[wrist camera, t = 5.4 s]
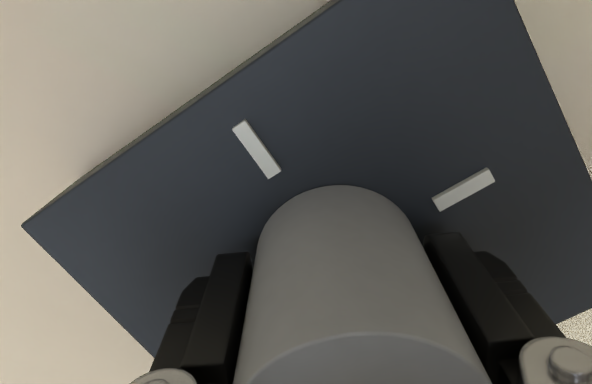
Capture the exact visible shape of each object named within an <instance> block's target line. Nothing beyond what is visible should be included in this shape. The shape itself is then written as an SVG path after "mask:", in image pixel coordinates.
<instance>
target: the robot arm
mask: <svg viewBox="0 0 592 384" xmlns="http://www.w3.org/2000/svg"><path fill="white" fill-rule="evenodd" d="M424 250H425V252H426V254H427V256H428V258H429V260H430V262H431V264H432V266H433V268H434V270H435V272H436V274H437V276H438V278H439V280H440V282H441V284H442V286H443V288H444V290H445V292H446V294H447V296H448V298H449V300H450V302H451V304H452V305H453V307H454V309H455V311H456V313H457V315H458V317H459V319H460V321H461V323H462V325H463V327H464V329H465V331H466V333H467V335H468V337H469V339H470V341H471V343H472V345H473V347H474V349H475V351H476V353H477V355H478V357H479V359H480V361H481V363H482V365H483V367H484V369H485V371H486V373H487V375H488V377H489V378H490V380H491V382H492V384H592V346H590V345H588V344H586V343H583V342H580V341H577V340H574V339H569V338H566V337H565V336H564V334H563V333H562V332H561V331H560V329H559V328H558V327H557V326H556V325H555V323H554V322H553V321H552V320H551V318H550V317H549V316H548V315H547V313H546V312H545V311H544V310H543V308H542V307H541V306H540V305H539V303H538V302H537V301H536V300H535V299H534V297H533V296H532V295H531V294H530V293H528V292H527V289H526V287H525V286H524V285H523V284H522V282H521V281H520V280H518V279H517V276H516V275H515V274H514V273H513V271H512V270H511V269H510V268H509V266H508V265H507V264H506V263H505V262H504V261H502V260H500V259H499V258H497V257H495V256H494V255H492V254H490V253H489V252H487V251H478V252H474V251H473V250H472V249H471V247H470V246H469V244H468V243H467V242H466V240H465V239H464V237H463V236H462V235H461V233H459V232H450V233H439V234H429V235H425V237H424ZM252 273H253V266H252V261H251V256H250V253H249V252H248V251H247V252H236V253H226V254H218V255H217V256H216V258H215V261H214V264H213V267H212V270H211V274H210V276H205V277H196V278H195V279H194V280H193V281H192V282H191V283H190V284H189V285H188V286H187V287H186V288H185V289H184V290H183V291H182V293H181V295H180V297H179V300H178V302H177V305H176V310H174V312H173V315H172V317H171V320H170V324H168V327H167V329H166V332H165V334H164V337H163V339H162V342H161V344H160V347H159V349H158V351H157V354H156V356H155V359H154V361H153V364H152V366H151V369H150V371H149V373H146V374H144V375H142V376H140V377H139V378H137V379H135V380H134V381H132V382H131V383H130V384H233V380H234V374H235V369H236V363H237V357H238V352H239V346H240V340H241V335H242V329H243V324H244V318H245V312H246V307H247V301H248V296H249V290H250V284H251V279H252Z"/></svg>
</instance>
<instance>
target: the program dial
mask: <svg viewBox="0 0 592 384" xmlns="http://www.w3.org/2000/svg"><path fill="white" fill-rule="evenodd" d="M233 384H492V382H491V380H490V378H489V377H488V375H487V373H486V371H485V369H484V367H483V365H482V363H481V361H480V359H479V357H478V355H477V353H476V351H475V349H474V347H473V345H472V343H471V341H470V339H469V337H468V335H467V333H466V331H465V329H464V327H463V325H462V323H461V321H460V319H459V317H458V315H457V313H456V311H455V309H454V307H453V305H452V304H451V302H450V300H449V298H448V296H447V294H446V292H445V290H444V288H443V286H442V284H441V282H440V280H439V278H438V276H437V274H436V272H435V270H434V268H433V266H432V264H431V262H430V260H429V258H428V256H427V254H426V252H425V250H424V248H423V246H422V244H421V242H420V240H419V238H418V236H417V234H416V232H415V231H414V229H413V227H412V225H411V223H410V221H409V220H408V218H407V217H406V215H405V214H404V213H403V212H402V211H401V210H400V208H399V207H398V206H396V205H395V204H394V203H393V202H392V201H390V200H389V199H387V198H385V197H384V196H382V195H380V194H378V193H376V192H374V191H371V190H368V189H365V188H361V187H356V186H349V185H332V186H324V187H319V188H315V189H312V190H309V191H306V192H303V193H301V194H299V195H297V196H295V197H293V198H292V199H290V200H289V201H287V202H286V203H284V204H283V205H282V206H281V207H280V208H278V209H277V210H276V212H275V213H274V214H273V215H272V216H271V217H270V219H269V220H268V221H267V223H266V224H265V226H264V228H263V230H262V232H261V235H260V238H259V241H258V245H257V251H256V256H255V262H254V267H253V273H252V279H251V284H250V290H249V296H248V301H247V307H246V312H245V318H244V324H243V329H242V335H241V340H240V346H239V352H238V357H237V363H236V369H235V374H234V380H233Z"/></svg>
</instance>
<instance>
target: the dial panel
mask: <svg viewBox="0 0 592 384" xmlns="http://www.w3.org/2000/svg"><path fill="white" fill-rule="evenodd" d="M332 185H349V186H356V187H361V188H365V189H368V190H371V191H374V192H376V193H378V194H380V195H382V196H384V197H385V198H387V199H389V200H390V201H392V202H393V203H394V204H395V205H396V206H398V207H399V208H400V210H401V211H402V212H403V213H404V214H405V215H406V217H407V218H408V220H409V221H410V223H411V225H412V227H413V229H414V231H415V232H416V234H417V236H418V238H419V240H420V242H421V244H422V246H423V248H424V237H425V235H429V234H439V233H450V232H459V233H461V235H462V236H463V237H464V239H465V240H466V242H467V243H468V244H469V246H470V247H471V249H472V250H473V251H474V252H478V251H487V252H489V253H490V254H492V255H494V256H495V257H497V258H499V259H500V260H502V261H504V262H505V263H506V264H507V265H508V266H509V268H510V269H511V270H512V271H513V273H514V274H515V275H516V276H517V279H518V280H520V281H521V282H522V284H523V285H524V286H525V287H526V289H527V292H528V293H530V294H531V295H532V296H533V297H534V299H535V300H536V301H537V302H538V303H539V305H540V306H541V307H542V308H543V310H544V311H545V312H546V313H547V315H548V316H549V317H550V318H551V320H552V321H553V322H554V323H555V324H558V323H560V322H562V321H564V320H566V319H569V318H571V317H573V316H575V315H577V314H580V313H582V312H584V311H586V310H588V309H591V308H592V180H591V178H590V175H589V173H588V171H587V168H586V166H585V164H584V162H583V159H582V157H581V155H580V152H579V150H578V148H577V145H576V143H575V141H574V138H573V136H572V134H571V131H570V129H569V127H568V125H567V122H566V120H565V118H564V115H563V113H562V111H561V108H560V106H559V104H558V101H557V99H556V97H555V94H554V92H553V90H552V88H551V85H550V83H549V81H548V78H547V76H546V74H545V71H544V69H543V67H542V64H541V62H540V60H539V57H538V55H537V53H536V51H535V48H534V46H533V44H532V41H531V39H530V37H529V34H528V32H527V30H526V27H525V25H524V23H523V21H522V18H521V16H520V14H519V11H518V9H517V7H516V4H515V2H514V0H331V1H330V2H328V3H327V4H325V5H324V6H323V7H321V8H320V9H318V10H317V11H316V12H314V13H313V14H311V15H310V16H308V17H307V18H306V19H304V20H303V21H301V22H300V23H299V24H297V25H296V26H294V27H293V28H292V29H290V30H289V31H287V32H286V33H284V34H283V35H282V36H280V37H279V38H277V39H276V40H275V41H273V42H272V43H270V44H269V45H268V46H266V47H265V48H263V49H262V50H260V51H259V52H258V53H256V54H255V55H253V56H252V57H251V58H249V59H248V60H246V61H245V62H244V63H242V64H241V65H239V66H238V67H236V68H235V69H234V70H232V71H231V72H229V73H228V74H227V75H225V76H224V77H222V78H221V79H220V80H218V81H217V82H215V83H214V84H212V85H211V86H210V87H208V88H207V89H205V90H204V91H203V92H201V93H200V94H198V95H197V96H196V97H194V98H193V99H191V100H190V101H188V102H187V103H186V104H184V105H183V106H181V107H180V108H179V109H177V110H176V111H174V112H173V113H172V114H170V115H169V116H167V117H166V118H164V119H163V120H162V121H160V122H159V123H157V124H156V125H155V126H153V127H152V128H150V129H149V130H148V131H146V132H145V133H143V134H142V135H140V136H139V137H138V138H136V139H135V140H133V141H132V142H131V143H129V144H128V145H126V146H125V147H124V148H122V149H121V150H119V151H118V152H116V153H115V154H114V155H112V156H111V157H109V158H108V159H107V160H105V161H104V162H102V163H101V164H100V165H98V166H97V167H95V168H94V169H92V170H91V171H90V172H88V173H87V174H85V175H84V176H83V177H81V178H80V179H78V180H77V181H76V182H74V183H73V184H72V185H71V186H69V187H68V188H67V189H66V190H64V191H63V192H62V193H60V194H59V195H58V196H57V197H55V198H54V199H53V200H52V201H50V202H49V203H48V204H46V205H45V206H44V207H43V208H41V209H40V210H39V211H38V212H36V213H35V214H34V215H32V216H31V217H30V218H29V219H27V220H26V221H25V222H24V223H22V225H21V227H22V228H23V229H24V230H25V231H26V232H27V233H28V234H29V235H30V236H31V237H32V238H33V239H34V240H35V241H36V242H37V243H38V244H39V245H40V246H41V247H42V248H43V249H44V250H45V251H46V252H47V253H48V254H49V255H50V256H51V257H52V258H53V259H55V260H56V261H57V262H58V263H59V264H60V265H61V266H62V267H63V268H64V269H65V270H66V271H67V272H68V273H69V274H70V275H71V276H72V277H73V278H74V279H75V280H76V281H77V282H78V283H79V284H80V285H81V286H82V287H83V288H84V289H85V290H86V291H87V292H88V293H89V294H90V295H91V296H92V297H93V298H94V299H95V300H96V301H97V302H98V303H99V304H100V305H101V306H102V307H103V308H104V309H105V310H106V311H107V312H108V313H109V314H110V315H111V316H112V317H113V318H114V319H115V320H116V321H117V322H118V323H119V324H120V325H121V326H122V327H123V328H124V329H125V330H126V331H128V332H129V333H130V334H131V335H132V336H133V337H134V338H135V339H136V340H137V341H138V342H139V343H140V344H141V345H142V346H143V347H144V348H145V349H146V350H147V351H148V352H149V353H150V354H151V355H152V356H153V357H154V358H155V356H156V354H157V351H158V349H159V347H160V344H161V342H162V339H163V337H164V334H165V332H166V329H167V327H168V324H170V320H171V317H172V315H173V312H174V310H176V305H177V302H178V300H179V297H180V295H181V293H182V291H183V290H184V289H185V288H186V287H187V286H188V285H189V284H190V283H191V282H192V281H193V280H194V279H195V278H196V277H205V276H210V274H211V270H212V267H213V264H214V261H215V258H216V256H217V255H218V254H226V253H236V252H247V251H248V252H249V253H250V256H251V261H252V266H253V267H254V262H255V256H256V251H257V245H258V241H259V238H260V235H261V232H262V230H263V228H264V226H265V224H266V223H267V221H268V220H269V219H270V217H271V216H272V215H273V214H274V213H275V212H276V210H277V209H278V208H280V207H281V206H282V205H283V204H284V203H286V202H287V201H289V200H290V199H292V198H293V197H295V196H297V195H299V194H301V193H303V192H306V191H309V190H312V189H315V188H319V187H324V186H332Z"/></svg>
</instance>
